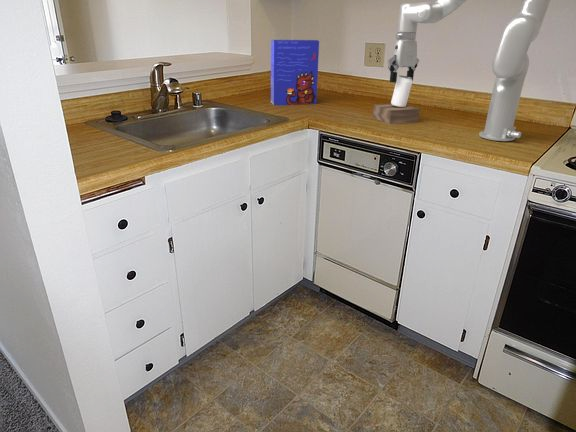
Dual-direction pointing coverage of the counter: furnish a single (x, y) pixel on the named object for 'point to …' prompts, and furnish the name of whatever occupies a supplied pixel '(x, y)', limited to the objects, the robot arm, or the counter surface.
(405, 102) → the can
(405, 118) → the walnut block
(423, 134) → the counter surface
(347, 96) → the counter surface
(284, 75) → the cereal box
